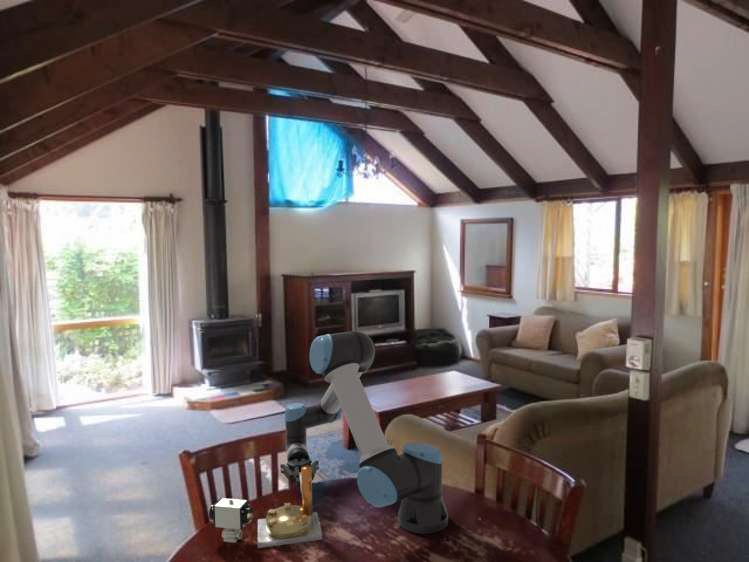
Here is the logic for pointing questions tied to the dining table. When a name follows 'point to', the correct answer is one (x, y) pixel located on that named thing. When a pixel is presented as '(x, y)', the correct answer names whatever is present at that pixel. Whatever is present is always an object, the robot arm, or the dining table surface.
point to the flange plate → (269, 540)
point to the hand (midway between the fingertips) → (303, 488)
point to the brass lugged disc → (293, 512)
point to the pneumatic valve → (231, 517)
